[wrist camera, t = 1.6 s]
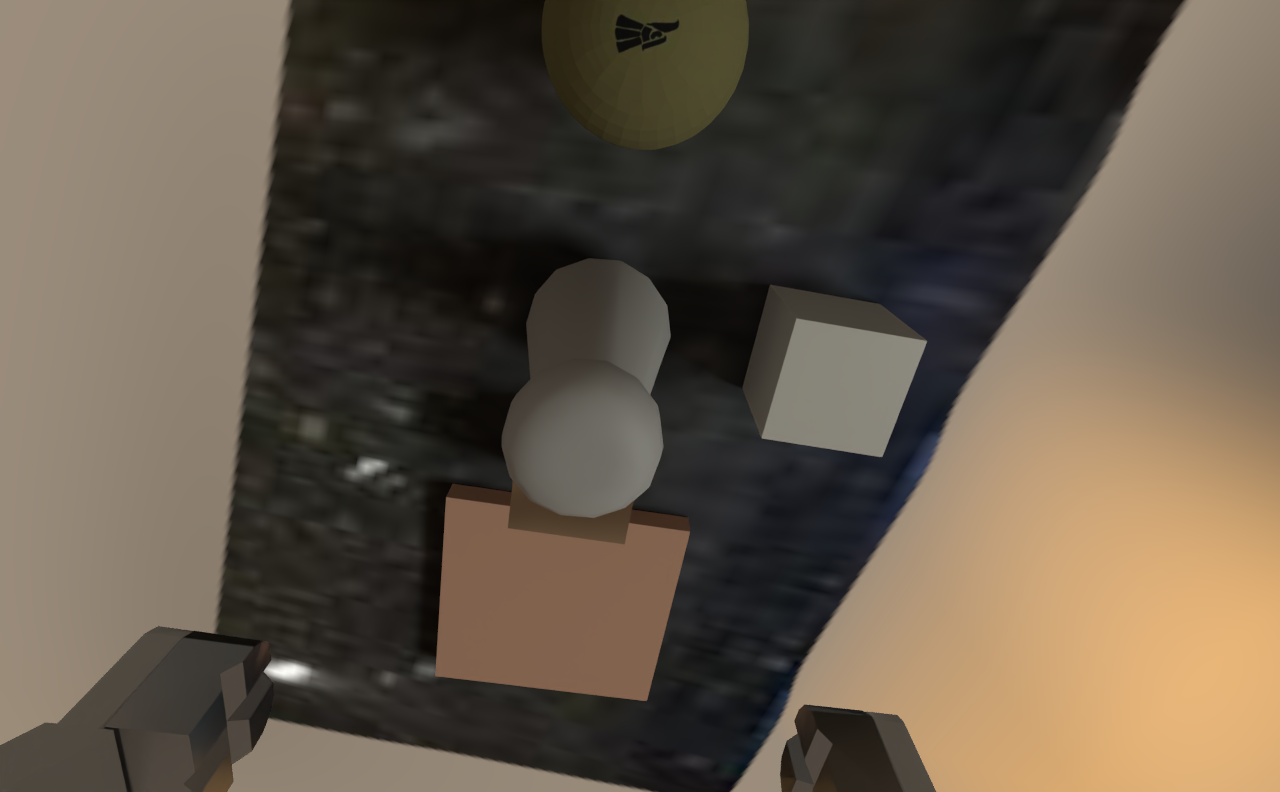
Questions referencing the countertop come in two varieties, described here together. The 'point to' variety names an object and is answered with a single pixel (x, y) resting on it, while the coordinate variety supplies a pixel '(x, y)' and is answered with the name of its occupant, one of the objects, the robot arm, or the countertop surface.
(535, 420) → the salt shaker
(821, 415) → the pale grey block
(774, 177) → the countertop surface
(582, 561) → the terracotta tile
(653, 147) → the light bulb
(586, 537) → the walnut block
